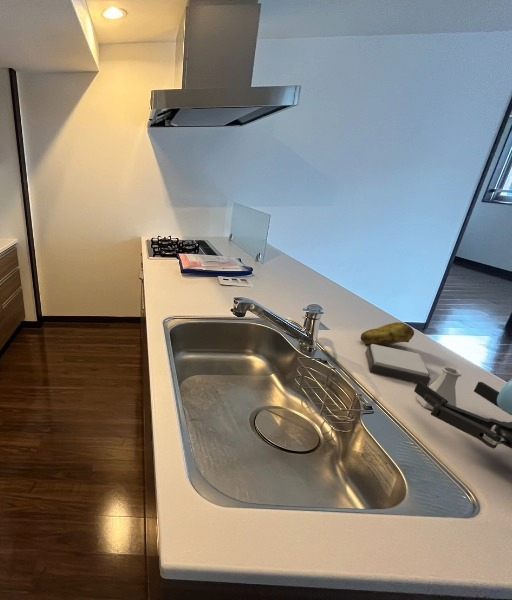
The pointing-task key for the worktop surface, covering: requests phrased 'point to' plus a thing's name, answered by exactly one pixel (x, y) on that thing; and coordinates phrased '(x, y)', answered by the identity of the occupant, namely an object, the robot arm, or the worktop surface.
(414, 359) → the scale
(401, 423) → the worktop surface
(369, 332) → the potato
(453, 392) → the flask
